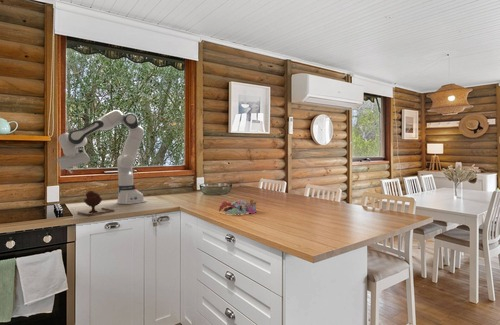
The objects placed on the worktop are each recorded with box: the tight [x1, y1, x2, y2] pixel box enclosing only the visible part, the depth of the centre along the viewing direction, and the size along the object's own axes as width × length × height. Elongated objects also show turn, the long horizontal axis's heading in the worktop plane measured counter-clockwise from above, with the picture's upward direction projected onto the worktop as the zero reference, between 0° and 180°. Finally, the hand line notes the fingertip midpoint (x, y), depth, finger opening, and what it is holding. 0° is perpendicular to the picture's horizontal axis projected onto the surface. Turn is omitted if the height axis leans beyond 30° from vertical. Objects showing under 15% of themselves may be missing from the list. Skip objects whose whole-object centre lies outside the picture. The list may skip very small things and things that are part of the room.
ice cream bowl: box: [83, 190, 103, 214], centre depth 207 cm, size 11×11×15 cm
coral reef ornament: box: [218, 198, 258, 215], centre depth 208 cm, size 25×24×9 cm
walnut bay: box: [76, 207, 115, 217], centre depth 207 cm, size 18×14×1 cm
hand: (78, 171), depth 225 cm, fingers open, 8 cm apart
